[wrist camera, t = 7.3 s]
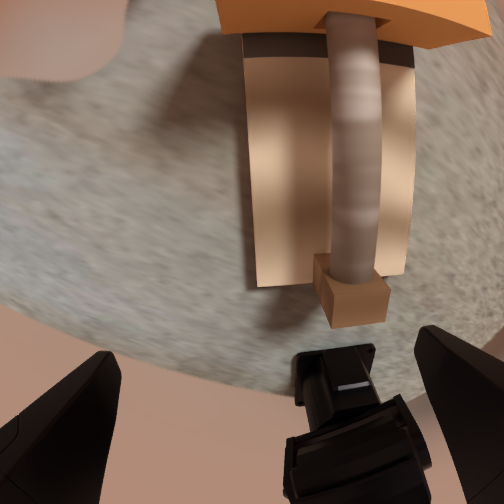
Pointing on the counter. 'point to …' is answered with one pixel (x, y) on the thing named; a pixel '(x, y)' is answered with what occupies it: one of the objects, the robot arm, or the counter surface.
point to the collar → (369, 4)
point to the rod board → (331, 162)
